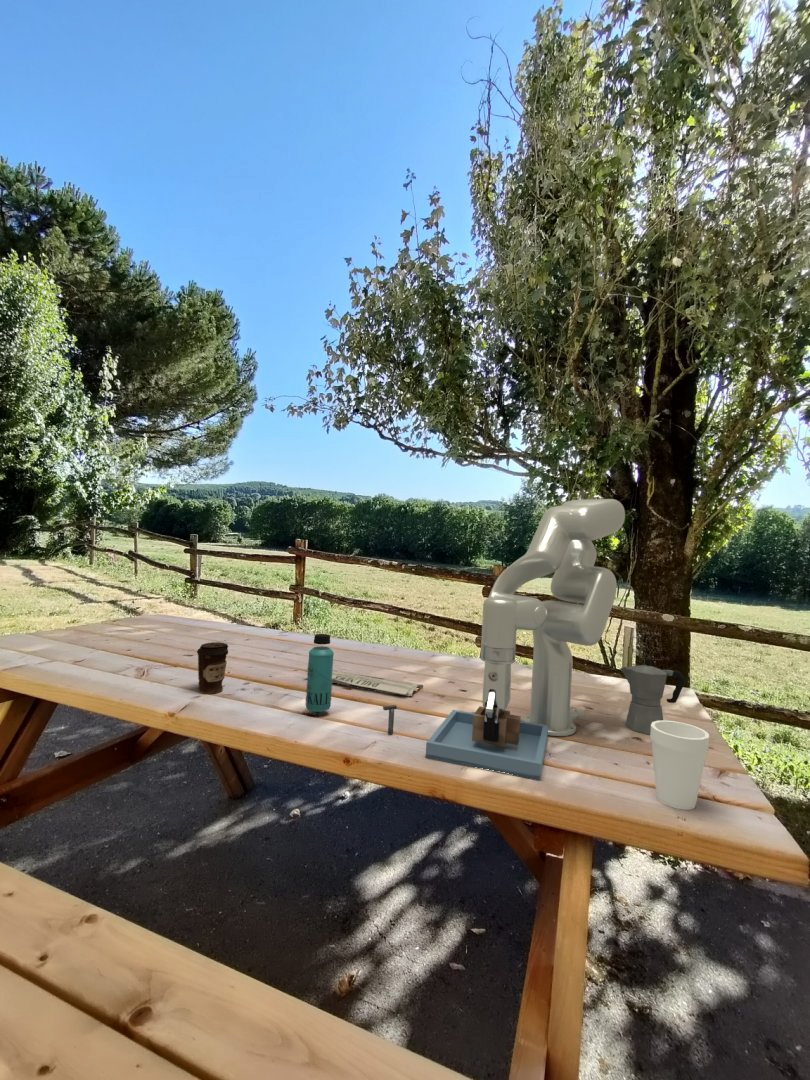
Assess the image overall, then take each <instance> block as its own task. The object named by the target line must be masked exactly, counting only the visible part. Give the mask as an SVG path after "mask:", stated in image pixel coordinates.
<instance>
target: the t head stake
mask: <svg viewBox="0 0 810 1080" xmlns="http://www.w3.org/2000/svg"><path fill="white" fill-rule="evenodd" d="M382 710H384V711H388V721H387V722H388V723H387V725H388V727H387V735H388V736H393V735H394V724H395V723H394V721H395V719H394V718H395V710H397V705H396V704H393V705H392V704H391V705H384V706H382Z"/></svg>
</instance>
